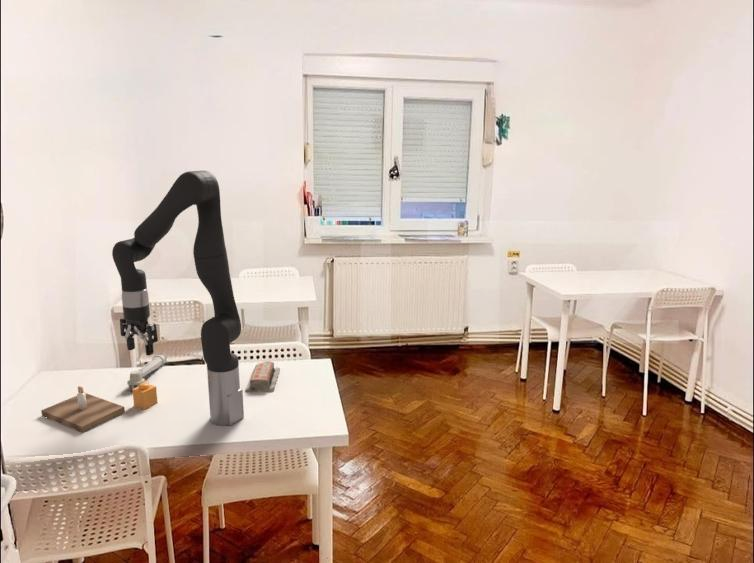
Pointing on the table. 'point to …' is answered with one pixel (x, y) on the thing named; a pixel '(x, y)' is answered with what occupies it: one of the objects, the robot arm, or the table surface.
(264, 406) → the table surface
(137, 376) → the gray handled tool
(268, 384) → the packaged product
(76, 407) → the board
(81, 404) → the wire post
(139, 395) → the orange rounded block
